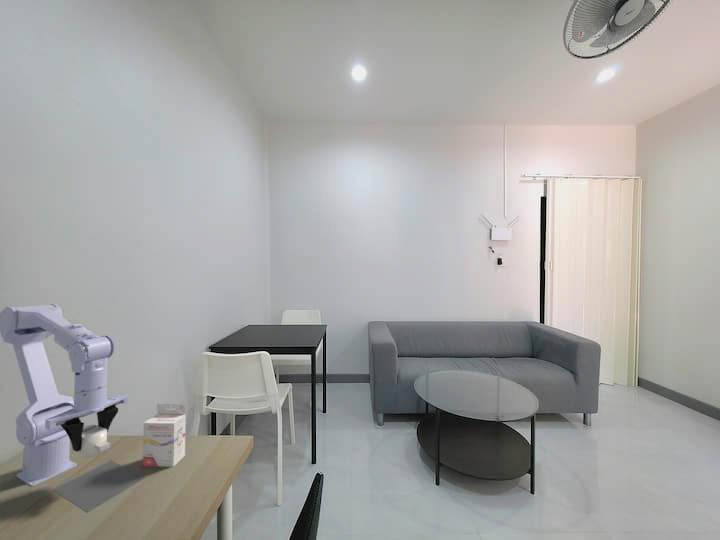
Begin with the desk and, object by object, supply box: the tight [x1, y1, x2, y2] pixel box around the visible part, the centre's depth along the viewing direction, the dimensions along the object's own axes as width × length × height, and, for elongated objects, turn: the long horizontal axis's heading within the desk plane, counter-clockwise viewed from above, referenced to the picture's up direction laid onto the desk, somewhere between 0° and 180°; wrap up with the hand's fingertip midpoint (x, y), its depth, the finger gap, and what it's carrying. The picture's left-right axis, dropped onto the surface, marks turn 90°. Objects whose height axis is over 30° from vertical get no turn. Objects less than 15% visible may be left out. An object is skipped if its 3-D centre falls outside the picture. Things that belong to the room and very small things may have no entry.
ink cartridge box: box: [142, 402, 187, 468], centre depth 73 cm, size 9×5×15 cm, turn 88°
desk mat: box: [52, 460, 147, 513], centre depth 65 cm, size 16×11×1 cm
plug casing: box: [72, 424, 111, 459], centre depth 65 cm, size 11×4×4 cm, turn 67°
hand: (89, 444), depth 66 cm, fingers closed on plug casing, 4 cm apart
